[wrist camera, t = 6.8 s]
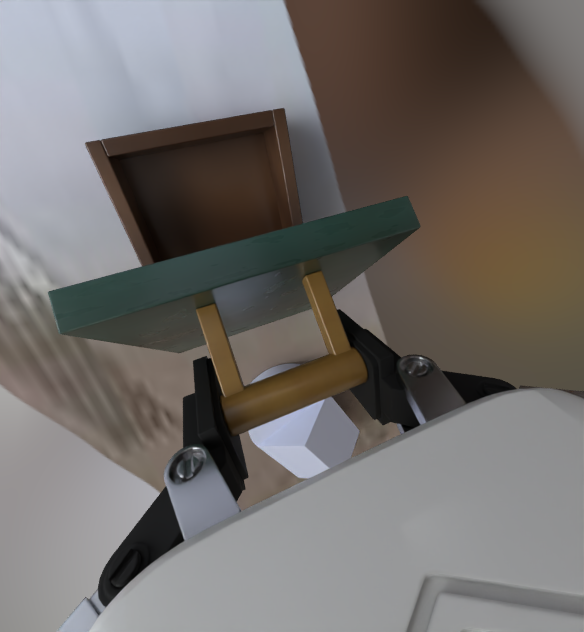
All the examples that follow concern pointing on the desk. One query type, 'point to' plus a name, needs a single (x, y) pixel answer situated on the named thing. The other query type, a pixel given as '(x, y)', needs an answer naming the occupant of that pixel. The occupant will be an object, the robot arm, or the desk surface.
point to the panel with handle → (246, 304)
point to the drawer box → (200, 183)
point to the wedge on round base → (307, 435)
